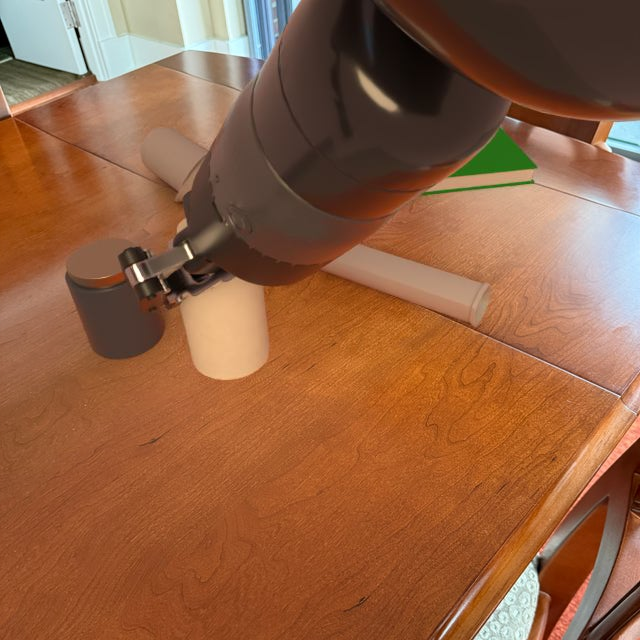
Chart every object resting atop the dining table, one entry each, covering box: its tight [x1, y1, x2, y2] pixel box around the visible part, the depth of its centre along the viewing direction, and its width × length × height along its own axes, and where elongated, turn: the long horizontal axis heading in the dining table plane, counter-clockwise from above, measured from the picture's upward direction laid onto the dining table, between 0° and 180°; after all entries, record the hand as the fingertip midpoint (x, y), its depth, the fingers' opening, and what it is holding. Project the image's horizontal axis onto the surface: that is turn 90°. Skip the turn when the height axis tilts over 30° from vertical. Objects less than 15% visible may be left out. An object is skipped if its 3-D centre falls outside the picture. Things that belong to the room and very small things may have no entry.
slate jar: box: [64, 237, 165, 360], centre depth 71 cm, size 9×9×12 cm
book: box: [420, 126, 538, 196], centre depth 106 cm, size 22×28×3 cm
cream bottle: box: [176, 190, 271, 381], centre depth 39 cm, size 6×6×12 cm
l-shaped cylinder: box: [140, 126, 209, 203], centre depth 100 cm, size 18×11×20 cm
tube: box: [319, 243, 492, 328], centre depth 78 cm, size 5×5×25 cm
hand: (207, 276), depth 40 cm, fingers closed on cream bottle, 5 cm apart
